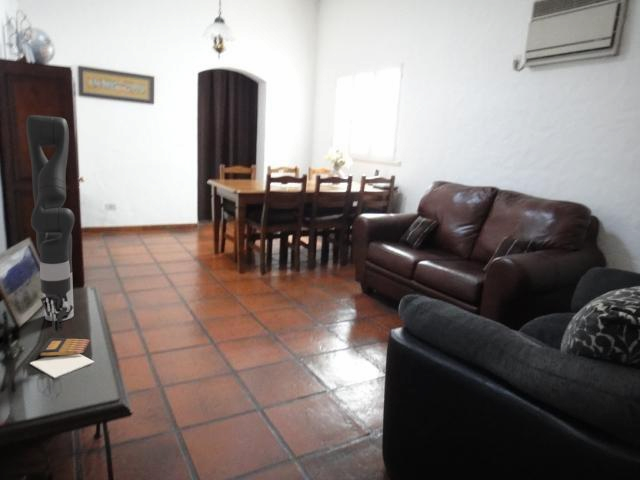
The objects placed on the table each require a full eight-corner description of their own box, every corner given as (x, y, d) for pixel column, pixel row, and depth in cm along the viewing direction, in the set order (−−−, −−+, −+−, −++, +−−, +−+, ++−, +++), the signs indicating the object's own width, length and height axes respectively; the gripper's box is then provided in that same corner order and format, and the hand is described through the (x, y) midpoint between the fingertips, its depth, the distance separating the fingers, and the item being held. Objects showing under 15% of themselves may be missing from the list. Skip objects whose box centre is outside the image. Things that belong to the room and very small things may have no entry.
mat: (29, 364, 132) (29, 362, 132) (69, 349, 142) (69, 348, 142) (54, 378, 126) (54, 377, 125) (94, 362, 136) (94, 361, 136)
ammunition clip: (39, 357, 135) (83, 355, 138) (39, 351, 134) (83, 350, 138) (50, 343, 145) (90, 342, 148) (49, 338, 144) (90, 337, 148)
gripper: (81, 278, 129) (82, 333, 133) (55, 268, 135) (57, 321, 139) (55, 283, 123) (57, 341, 126) (29, 273, 129) (32, 328, 133)
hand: (57, 330), depth 133 cm, fingers closed
